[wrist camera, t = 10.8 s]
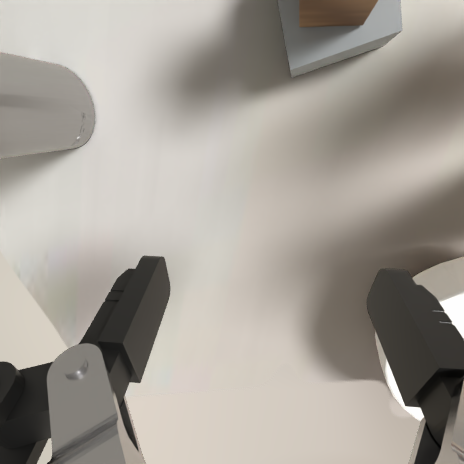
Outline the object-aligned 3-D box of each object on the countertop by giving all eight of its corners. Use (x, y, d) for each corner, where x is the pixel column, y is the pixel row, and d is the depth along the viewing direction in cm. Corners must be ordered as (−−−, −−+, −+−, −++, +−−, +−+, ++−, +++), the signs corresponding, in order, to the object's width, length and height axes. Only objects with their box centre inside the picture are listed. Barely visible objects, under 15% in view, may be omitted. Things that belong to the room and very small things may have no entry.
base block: (291, 78, 26) (290, 70, 22) (273, -22, 24) (267, -54, 19) (382, 46, 24) (402, 30, 19) (373, -69, 21) (393, -118, 17)
